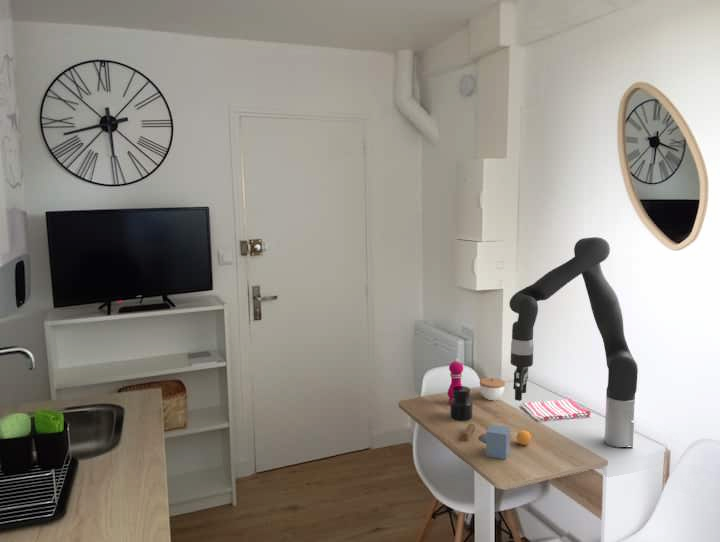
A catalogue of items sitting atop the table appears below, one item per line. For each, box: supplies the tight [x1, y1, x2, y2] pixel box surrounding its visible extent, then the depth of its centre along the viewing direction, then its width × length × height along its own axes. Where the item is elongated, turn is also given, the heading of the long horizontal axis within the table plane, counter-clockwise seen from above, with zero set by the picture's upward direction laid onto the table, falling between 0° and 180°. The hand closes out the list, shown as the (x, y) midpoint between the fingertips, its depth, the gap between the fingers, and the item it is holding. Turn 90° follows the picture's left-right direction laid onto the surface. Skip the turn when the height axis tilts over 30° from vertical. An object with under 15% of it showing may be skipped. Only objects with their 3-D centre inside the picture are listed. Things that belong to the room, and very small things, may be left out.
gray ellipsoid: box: [478, 433, 486, 444], centre depth 207 cm, size 8×8×1 cm
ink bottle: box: [449, 385, 474, 422], centre depth 227 cm, size 10×9×12 cm
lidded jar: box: [479, 377, 506, 402], centre depth 247 cm, size 11×11×9 cm
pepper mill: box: [447, 358, 464, 405], centre depth 241 cm, size 7×7×20 cm
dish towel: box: [520, 398, 592, 423], centre depth 231 cm, size 17×23×4 cm
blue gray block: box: [485, 424, 511, 460], centre depth 194 cm, size 7×7×9 cm
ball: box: [516, 429, 532, 446], centre depth 202 cm, size 5×5×5 cm
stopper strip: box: [462, 423, 476, 442], centre depth 210 cm, size 2×10×2 cm, turn 155°
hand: (520, 396), depth 197 cm, fingers open, 8 cm apart
